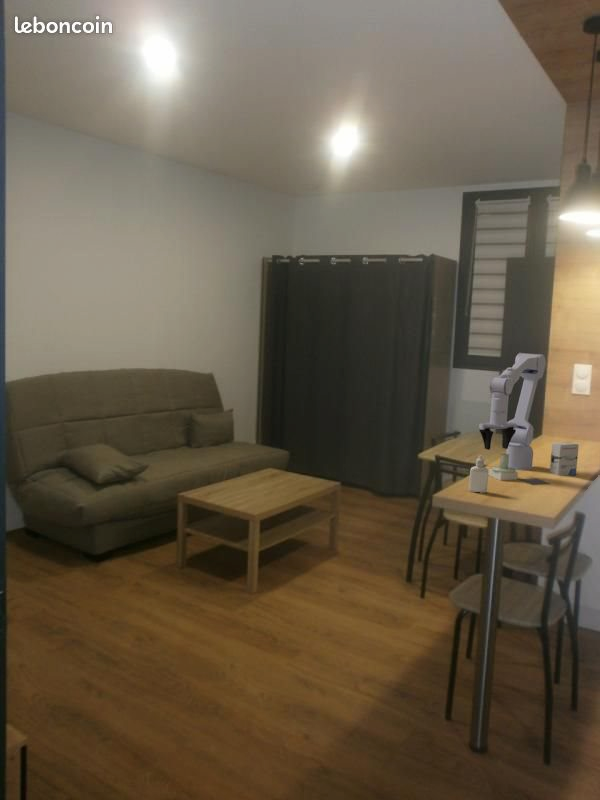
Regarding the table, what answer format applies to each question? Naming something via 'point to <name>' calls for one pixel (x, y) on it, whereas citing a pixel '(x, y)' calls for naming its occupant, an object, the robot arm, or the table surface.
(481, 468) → the eye dropper bottle
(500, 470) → the lid
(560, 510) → the table surface
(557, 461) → the ink box
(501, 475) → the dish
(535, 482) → the mat
